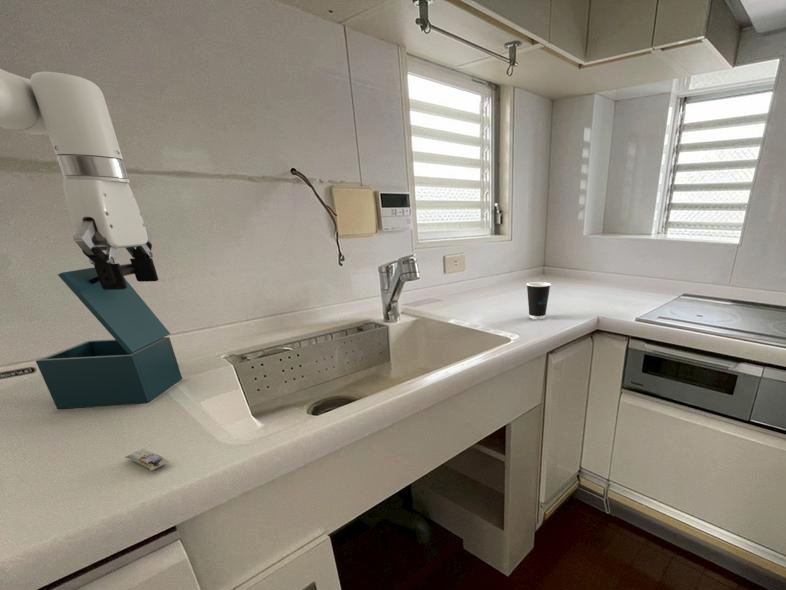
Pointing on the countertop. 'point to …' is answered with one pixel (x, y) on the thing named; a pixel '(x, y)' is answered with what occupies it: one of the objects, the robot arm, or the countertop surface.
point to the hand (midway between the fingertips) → (132, 284)
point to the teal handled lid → (117, 308)
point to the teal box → (109, 373)
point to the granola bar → (147, 459)
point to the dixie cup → (537, 299)
